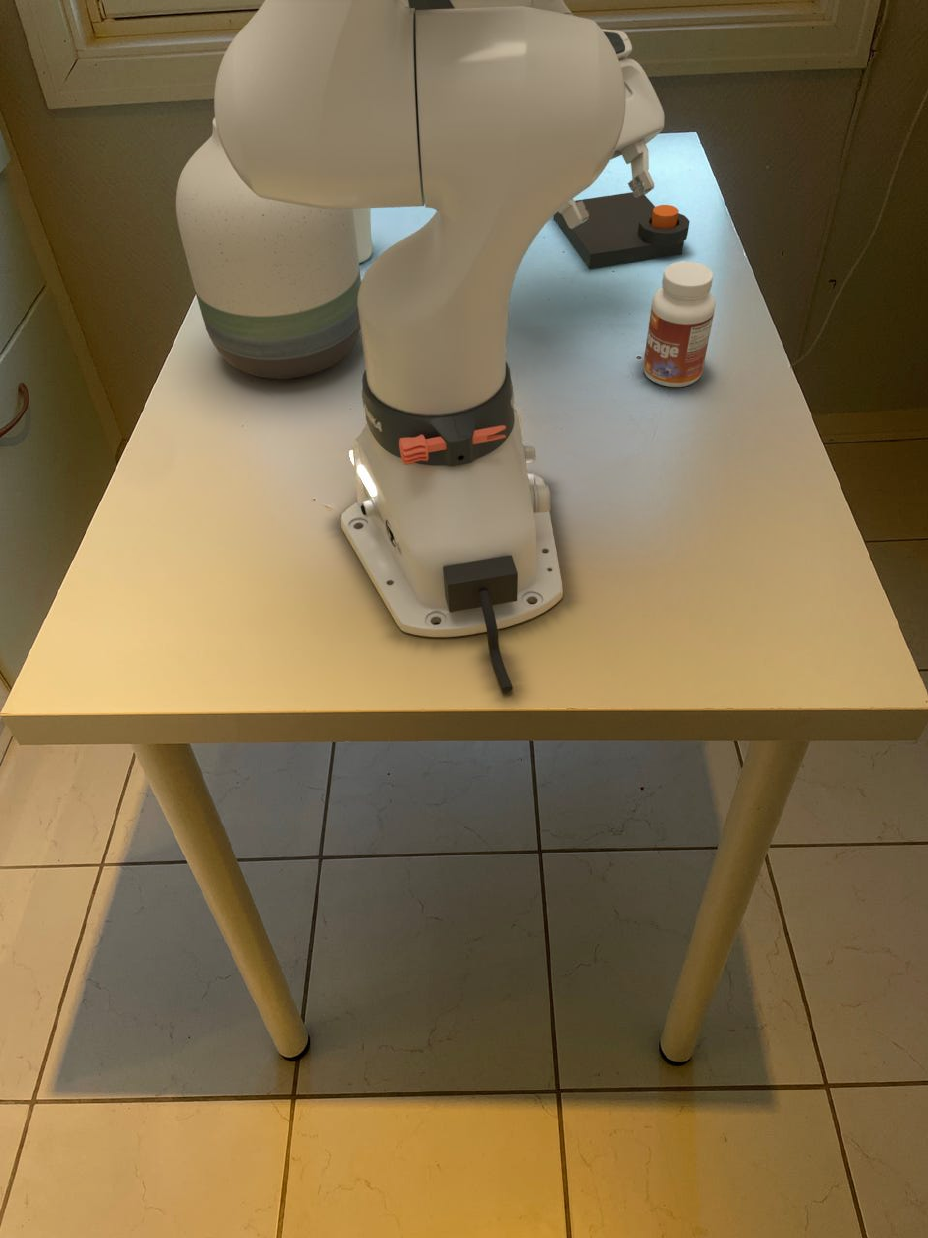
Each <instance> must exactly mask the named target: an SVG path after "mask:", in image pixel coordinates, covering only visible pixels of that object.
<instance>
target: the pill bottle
mask: <svg viewBox="0 0 928 1238" xmlns="http://www.w3.org/2000/svg"><path fill="white" fill-rule="evenodd" d="M713 280H714V273H713V270H711V268H709V267H708V266H706V265H705V264H702V263H700V262H696V261H683V260H682V261H676V262H673V263H671V264H669V265H668V266H667V267H665V268H664V271H663V274H662V280H661V285H662V286H661V287H660V288H659V289H658V290H657V291H656V292H655V293H654V295H653V297H652V300H651V301H652V302H651V307H650V313H649V314H650V315H649V322H648V327H647V329H648V330H647V336H646V343H645V350H644V356H643V364H642V369H643V372H644V375H645V376H646V378H648V379H649V380H651V381H652V382H653V383H656V384H657V385H661V386H664V387H670V388H683V387H687V386H690V385H693V384H694V383H695V382H697V381H698V380H699V379H700V378H701V376H702V374H703V370H704V367H705V360H706V358H707V357H706V356H707V352H708V346H709V342H710V336H711V331H712V326H713V322H714V316H715V312H716V299H715V296H714V295H713V293H712V292H711V290H712V286H713Z"/></svg>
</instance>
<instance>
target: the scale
mask: <svg viewBox="0 0 928 1238" xmlns="http://www.w3.org/2000/svg"><path fill="white" fill-rule="evenodd" d="M574 201H575V202H576V203H577V202H579V201H583V203H584V205H585V209H586V210H587V211H588V213H589V219H588V220H587V221H585V222H584V223H583V224H581V225H579V226H577V227H575V228H573V229H570V228H569V227H568V225H567V223H566V221H565V219H564V217H563V215H562V213H561V214H560V213H559V212H558V211H557V212H556V213H555V214H554V216H553V217H552V218H553V220H554V221H555V222H556V224H557V225H558V226H559V228H560V230H561V231H562V232H563V234H564V235H565V237H566V239H568V241H569V243H570V244H571V245H572V246H573V248H574V249H575V251H576V253H577V254H578V255H579V257H580V258H581V260H582V261H583V262H584V263H585V265H586V266H587V268H588V269H589V270H592V269H598V268H604V267H611V266H616V265H617V266H618V265H622V264H629V263H636V262H642V261H648V260H654V259H655V260H656V259H661V258H667V257H673V256H680V255H682V254H683V250H684V244H685V241H686V240H687V237H688V234H689V227H690V221H691V220H690V219H688V218H687V216H686V215H685V214H682V213H680V212H678V218H677V225H676V227H674V228H668V229H664V228H657V227H654V226H652V224H651V223H652V215H653V209H654V208H655V207H656V205H654V204H653V203H652V201H651V200H650V199H649V198H648V197H647V195H646V194H645V195H643V196H641V197H638V198H636V197H634V195H633V191H631V192H625V193H617V194H610V195H604V196H598V197H591V198H584V199H575V200H574Z"/></svg>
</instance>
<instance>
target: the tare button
mask: <svg viewBox="0 0 928 1238" xmlns="http://www.w3.org/2000/svg"><path fill="white" fill-rule="evenodd" d="M678 213H679V208H677V207H676V206H674V205H670V204H660V205H659V204H658V205H655V208H654V209H653V215H652V223H651V224H652V226H654V227H657V228H664V229H668V228H674V227H676V225H677V218H678Z"/></svg>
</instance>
